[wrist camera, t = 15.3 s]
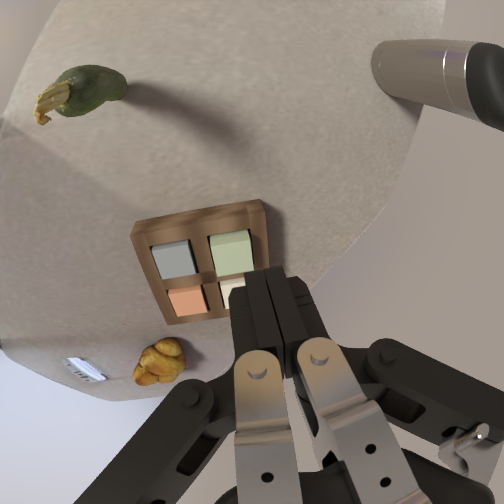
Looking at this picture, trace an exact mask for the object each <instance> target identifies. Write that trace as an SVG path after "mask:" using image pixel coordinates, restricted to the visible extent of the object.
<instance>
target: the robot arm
mask: <svg viewBox="0 0 504 504" xmlns="http://www.w3.org/2000/svg"><path fill="white" fill-rule="evenodd" d="M372 71H373V74H374V78H375V79H376V81H377V83H378V85H379V86H380V87H381V89H382V90H384V91H385V92H386V93H387V94H389V95H390V96H393V97H396V98H401V99H405V100H410V101H413V102H417V103H421V104H425V105H429V106H433V107H436V108H439V109H443V110H446V111H449V112H452V113H455V114H459V115H461V116H464V117H467V118H470V119H473V120H476V121H478V122H481V123H483V124H486V125H488V126H491V127H493V128H496V129H498V130H501V131H503V132H504V48H502V47H500V46H498V45H495V44H489V43H482V42H473V41H460V40H440V39H416V40H394V41H386V42H383V43H381V44H380V45H378V47H377V48H376V49H375V51H374V53H373V56H372ZM243 274H244V280H245V286H240V287H234V288H232V290H231V292H230V294H229V297H228V303H229V311H230V319H231V327H232V335H233V342H234V350H235V360H234V363H233V365H232V367H231V368H230V369H229V370H228V371H227V372H226V373H225V374H223V375H222V376H220V377H218V378H216V379H213V380H211V381H209V382H207V383H205V382H204V381H201V380H198V379H188V380H184V381H182V382H180V383H178V384H177V385H176V386H175V387H174V388H173V389H172V390H171V391H170V392H169V394H168V395H167V396H166V397H165V398H164V400H163V401H162V402H161V403H160V405H159V406H158V407H157V408H156V409H155V411H154V412H153V413H152V414H151V415H150V417H149V418H148V419H147V420H146V422H144V424H143V425H142V426H141V427H140V428H139V429H138V431H137V432H136V433H135V435H133V437H132V438H131V439H130V440H129V441H128V442H127V444H126V445H125V446H124V447H123V448H122V449H121V451H120V452H119V453H118V454H117V455H116V457H114V459H113V460H112V461H111V462H110V463H109V464H108V465H107V467H106V468H105V469H104V470H103V471H102V472H101V473H100V474H99V476H98V477H97V478H96V479H95V480H94V481H93V482H92V484H91V485H90V486H89V487H88V488H87V489H86V490H85V491H84V492H83V493H82V494H81V496H80V497H79V498H78V499H77V500H76V501H75V502H74V503H73V504H176V502H177V501H178V500H179V498H181V496H182V495H183V494H184V493H185V491H186V490H187V489H188V488H189V486H190V485H191V484H192V483H193V481H194V480H195V479H196V478H197V476H198V475H199V474H200V472H201V471H202V470H203V468H204V467H205V466H206V465H207V463H208V462H209V460H210V459H211V458H212V456H213V455H214V454H215V452H216V451H217V449H218V448H219V447H220V445H221V444H222V443H223V441H224V440H225V438H226V437H227V435H228V434H229V433H231V432H233V431H235V430H236V432H235V437H234V447H235V463H236V478H237V486H235V487H233V488H232V489H230V490H228V491H227V492H226V493H225V494H223V495H222V496H221V497H220V498H219V499H218V500H217V501H216V502H215V504H495V499H494V495H493V493H492V491H491V490H490V488H488V487H487V485H488V483H489V481H490V479H491V476H492V474H493V471H494V469H495V466H496V464H497V461H498V458H499V455H500V452H501V450H502V446H503V444H504V392H503V391H501V390H499V389H497V388H495V387H492V386H490V385H488V384H486V383H484V382H481V381H479V380H477V379H475V378H473V377H471V376H468V375H467V374H465V373H462V372H460V371H458V370H456V369H454V368H452V367H450V366H448V365H446V364H443V363H441V362H439V361H437V360H435V359H433V358H431V357H429V356H427V355H425V354H422V353H421V352H419V351H416V350H414V349H412V348H410V347H408V346H406V345H404V344H402V343H400V342H398V341H396V340H393V339H388V338H384V339H379V340H377V341H376V342H374V343H373V344H372V345H371V346H370V347H369V348H346V347H343V346H340V345H338V344H336V343H335V342H334V341H332V340H331V338H330V337H329V335H328V333H327V332H326V329H325V326H324V324H323V322H322V319H321V317H320V315H319V312H318V310H317V308H316V305H315V304H314V301H313V299H312V296H311V294H310V292H309V289H308V287H307V285H306V283H305V282H303V281H302V280H301V279H300V278H299V277H298V276H294V277H289V278H286V275H285V273H284V270H283V267H282V266H276V267H270V268H265V269H263V271H262V269H260V270H254V271H248V272H243ZM284 374H285V377H286V378H292V377H293V381H294V384H295V388H296V389H295V394H296V398H297V401H298V404H299V407H300V409H301V412H302V415H303V417H304V420H305V423H306V425H307V428H308V431H309V433H310V436H311V439H312V445H313V450H314V454H315V456H316V459H317V462H318V464H319V467H320V471H318V472H298V468H297V461H296V455H295V449H294V442H293V436H292V431H291V427H290V424H289V418H288V412H287V406H286V399H285V393H284V387H283V379H284ZM387 421H388V422H391V423H392V424H394V425H396V426H398V427H400V428H402V429H404V430H406V431H408V432H410V433H412V434H414V435H416V436H418V437H420V438H422V439H425V440H427V441H429V442H431V443H433V444H436V445H438V446H439V452H438V457H439V459H440V460H442V461H443V462H444V463H445V464H447V465H448V466H449V467H450V468H451V470H452V471H451V470H449V469H446V468H444V467H442V466H440V465H438V464H436V463H434V462H431V461H430V460H428V459H426V458H424V457H422V456H420V455H418V454H416V453H414V452H412V451H409V450H406V449H403V448H400V446H399V444H398V442H397V440H396V438H395V436H394V434H393V432H392V429H391V428H390V426H389V424H388V422H387Z"/></svg>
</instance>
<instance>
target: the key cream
mask: <svg viewBox="0 0 504 504" xmlns="http://www.w3.org/2000/svg"><path fill="white" fill-rule="evenodd" d="M220 286H221V290H222V295H223V299H224V303H225V307H226V309H229V303H228V297H229V294H230V292H231V290H232V288H234V287H240V286H245V280H244V277H242V278H237V279H231V280H225V281H220Z"/></svg>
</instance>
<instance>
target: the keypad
mask: <svg viewBox="0 0 504 504" xmlns="http://www.w3.org/2000/svg"><path fill="white" fill-rule="evenodd" d="M244 229H247V231H248V234H249V238H250V243H251V252H252V260H253V268H254V270H260V269H262V271H263V269H265V268H270V267H269V254H268V241H267V229H266V216H265V210H264V208H263V206H262V204H261V201H260V199H257V200H250V201H244V202H238V203H232V204H226V205H220V206H214V207H208V208H203V209H197V210H192V211H186V212H181V213H176V214H171V215H166V216H161V217H156V218H151V219H146V220H142V221H137V222H135V225H134V227H133V230H132V232H131V234H130V238H131V241H132V244H133V246H134V249H135V251H136V254H137V256H138V259H139V261H140V264H141V266H142V269H143V271H144V274H145V276H146V278H147V281H148V283H149V285H150V288H151V290H152V292H153V295H154V297H155V299H156V301H157V303H158V306H159V308H160V310H161V312H162V314H163V316H164V318H165V321H166V323H167V325H175V324H182V323H189V322H196V321H203V320H209V319H216V318H222V317H228V316H230V311H229V309H226V307H225V303H224V299H223V295H222V290H221V286H220V281H225V280H231V279H237V278H242V277H244V274H243V272H242V273H236V274H231V275H225V276H219V277H217V273H216V269H215V264H214V260H213V255H212V251H211V246H210V235H215V234H221V233H226V232H232V231H238V230H244ZM187 239H190V241H191V244H192V248H193V252H194V256H195V259H196V274H193V275H187V276H181V277H175V278H169V279H163V280H162V278H161V275H160V272H159V270H158V267H157V264H156V262H155V259H154V256H153V254H152V248H153V246H154V245H159V244H165V243H170V242H176V241H181V240H187ZM201 284H203V288H204V291H205V295H206V298H207V312H206V313H199V314H192V315H186V316H179V317H177V315H176V312H175V310H174V308H173V305H172V303H171V300H170V298H169V295H168V292H169V290H170V289H176V288H183V287H189V286H195V285H201Z"/></svg>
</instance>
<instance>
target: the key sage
mask: <svg viewBox="0 0 504 504" xmlns="http://www.w3.org/2000/svg"><path fill="white" fill-rule="evenodd" d="M210 246H211V251H212V255H213V260H214V264H215V269H216V273H217V277H219V276H225V275H231V274H236V273H242V272H248V271H254V268H253V260H252V252H251V243H250V238H249V234H248V231H247V229H244V230H238V231H232V232H226V233H221V234H215V235H210Z"/></svg>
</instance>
